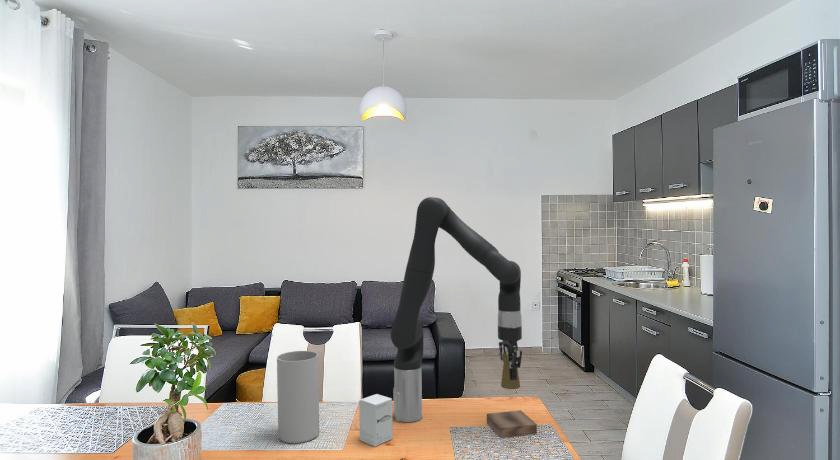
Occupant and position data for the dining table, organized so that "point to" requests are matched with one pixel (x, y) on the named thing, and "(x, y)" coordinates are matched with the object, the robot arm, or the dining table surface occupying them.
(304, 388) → the cylinder vase
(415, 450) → the dining table surface
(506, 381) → the olive knob-ended peg
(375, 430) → the supplement box
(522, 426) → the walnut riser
